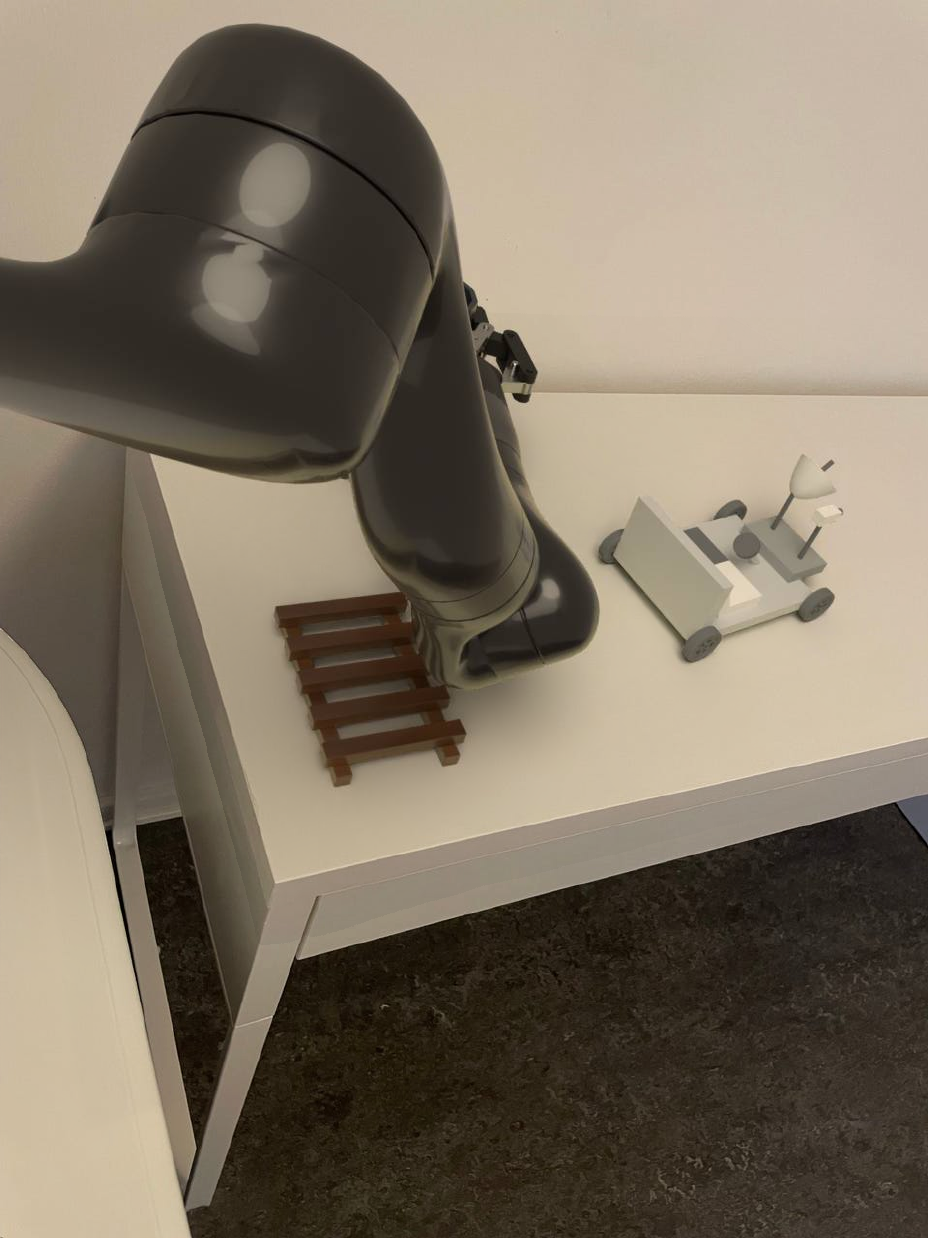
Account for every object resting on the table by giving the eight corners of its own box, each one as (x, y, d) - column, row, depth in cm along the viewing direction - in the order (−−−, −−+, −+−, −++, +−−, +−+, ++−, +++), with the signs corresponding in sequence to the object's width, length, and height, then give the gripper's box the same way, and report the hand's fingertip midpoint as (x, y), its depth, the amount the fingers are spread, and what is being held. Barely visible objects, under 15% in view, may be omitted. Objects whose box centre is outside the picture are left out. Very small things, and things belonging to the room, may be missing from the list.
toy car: (804, 425, 83) (908, 519, 77) (753, 516, 90) (845, 609, 84) (635, 462, 74) (737, 570, 68) (593, 560, 81) (682, 666, 75)
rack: (269, 617, 69) (271, 596, 68) (394, 602, 73) (399, 582, 72) (326, 789, 61) (330, 770, 60) (464, 762, 65) (471, 744, 63)
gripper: (574, 398, 69) (524, 270, 80) (360, 378, 65) (338, 247, 76) (544, 486, 74) (501, 354, 85) (344, 472, 70) (326, 336, 81)
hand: (424, 304), depth 80 cm, fingers closed on pot, 6 cm apart
